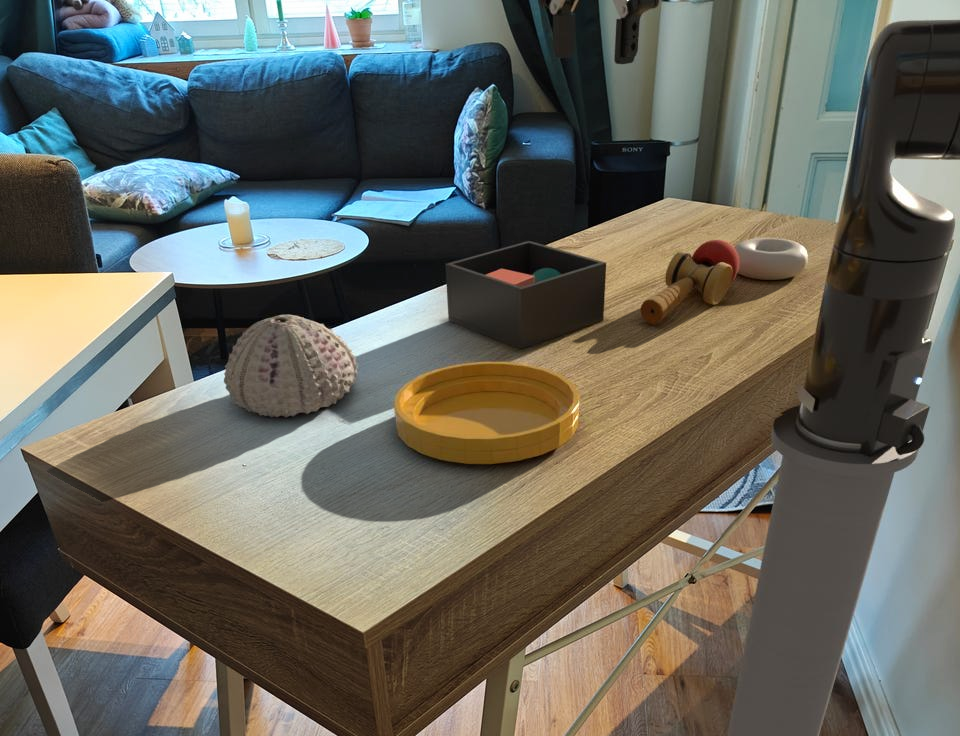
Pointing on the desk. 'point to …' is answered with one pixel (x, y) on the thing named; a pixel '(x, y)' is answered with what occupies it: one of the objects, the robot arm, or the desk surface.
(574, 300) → the bin
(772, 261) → the donut
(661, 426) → the desk surface
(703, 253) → the kendama
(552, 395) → the bowl
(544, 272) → the toy ball
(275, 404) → the sea urchin shell
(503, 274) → the toy block
